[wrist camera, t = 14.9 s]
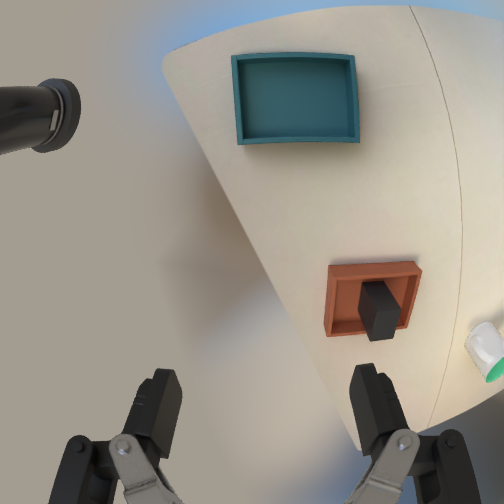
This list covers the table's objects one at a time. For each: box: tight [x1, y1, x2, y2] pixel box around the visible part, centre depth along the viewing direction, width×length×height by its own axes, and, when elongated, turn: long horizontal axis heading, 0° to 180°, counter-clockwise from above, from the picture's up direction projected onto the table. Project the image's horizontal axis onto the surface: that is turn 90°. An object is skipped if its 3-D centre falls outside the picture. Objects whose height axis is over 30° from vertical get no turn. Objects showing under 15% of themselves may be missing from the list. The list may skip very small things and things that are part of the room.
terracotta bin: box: [324, 261, 422, 337], centre depth 37 cm, size 13×10×3 cm
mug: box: [465, 321, 504, 383], centre depth 37 cm, size 12×8×10 cm
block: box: [358, 281, 401, 341], centre depth 35 cm, size 4×5×7 cm
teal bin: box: [231, 52, 360, 145], centre depth 27 cm, size 13×10×3 cm
